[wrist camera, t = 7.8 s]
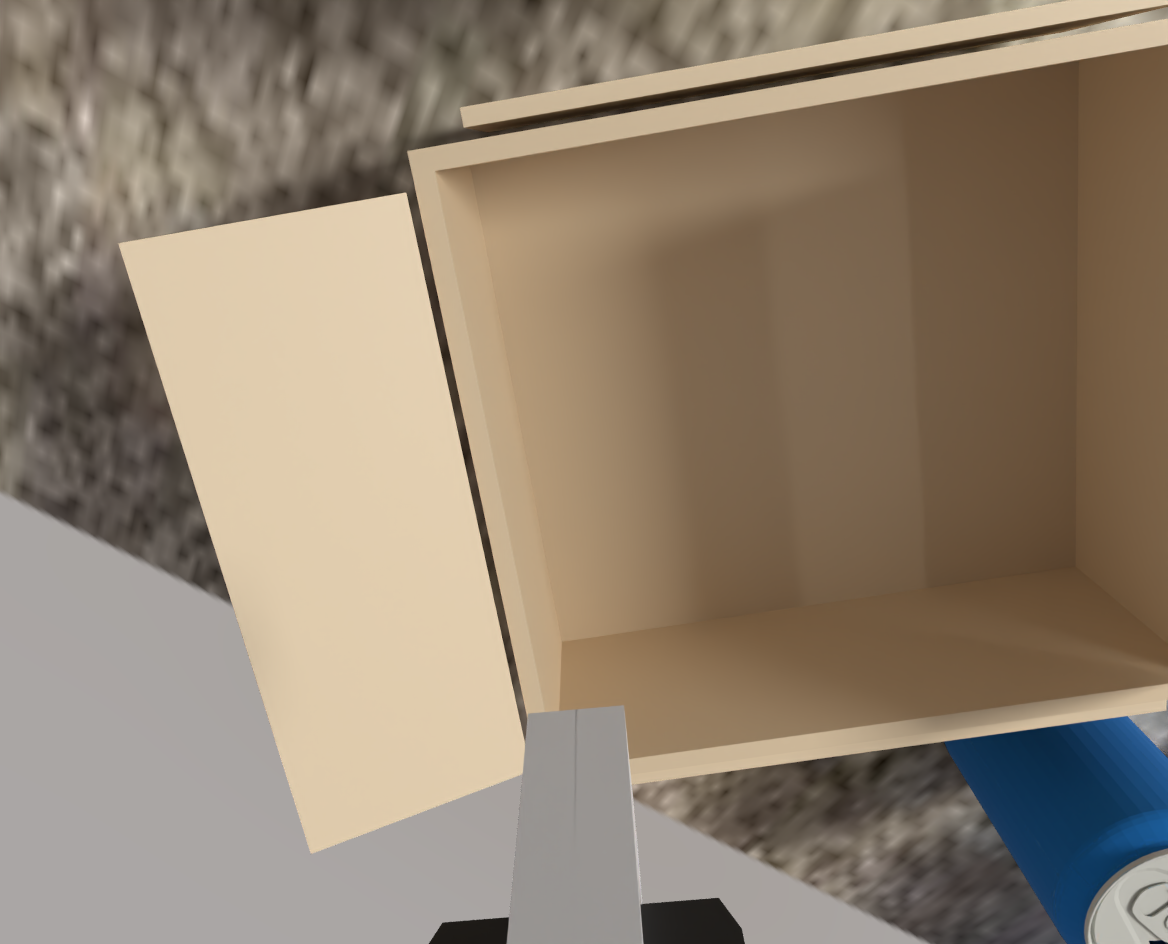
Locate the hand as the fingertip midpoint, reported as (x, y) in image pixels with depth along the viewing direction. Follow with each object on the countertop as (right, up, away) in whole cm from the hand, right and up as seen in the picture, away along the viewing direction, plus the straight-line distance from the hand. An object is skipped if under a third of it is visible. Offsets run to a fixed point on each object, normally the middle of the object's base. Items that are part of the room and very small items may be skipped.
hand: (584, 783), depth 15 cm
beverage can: (+18, -5, +26) cm, 32 cm away
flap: (-3, +4, +13) cm, 14 cm away
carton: (+8, +9, +21) cm, 24 cm away
